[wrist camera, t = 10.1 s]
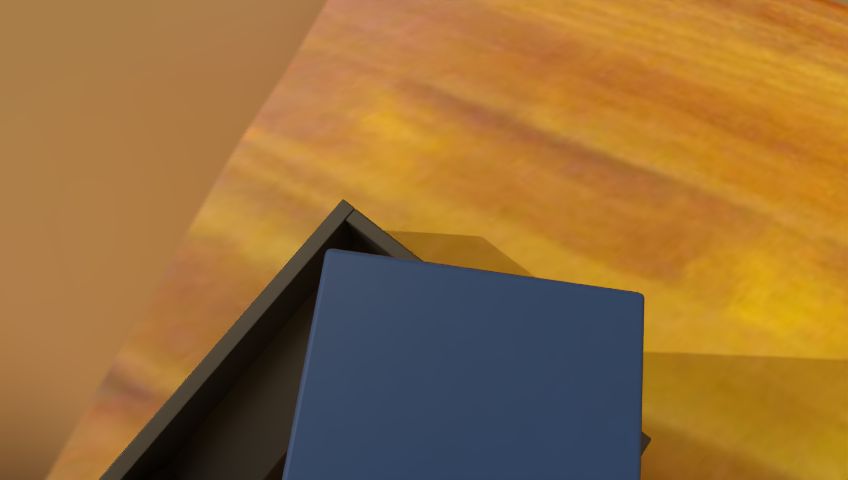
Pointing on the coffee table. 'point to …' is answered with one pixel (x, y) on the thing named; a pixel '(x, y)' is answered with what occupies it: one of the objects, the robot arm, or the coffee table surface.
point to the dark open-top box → (251, 374)
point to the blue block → (466, 376)
